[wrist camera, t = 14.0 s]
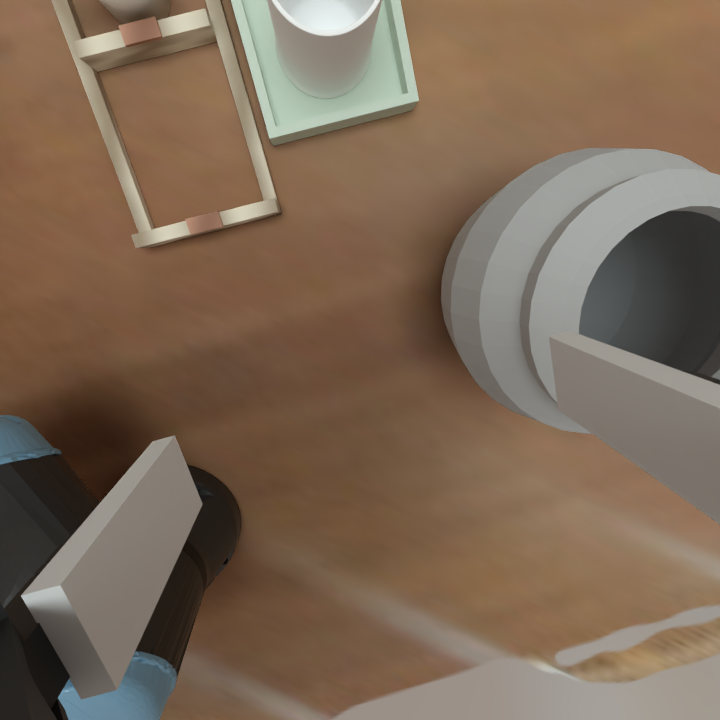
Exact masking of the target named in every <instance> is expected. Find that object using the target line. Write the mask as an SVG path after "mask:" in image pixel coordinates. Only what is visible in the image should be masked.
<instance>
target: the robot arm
mask: <svg viewBox="0 0 720 720" xmlns="http://www.w3.org/2000/svg"><path fill="white" fill-rule="evenodd" d="M549 342H550V350H551V358H552V365H553V373H554V381H555V389H556V397H557V404H558V410H560V411H561V412H563V413H564V414H565V415H567V416H568V417H570V418H571V419H572V420H574V421H575V422H577V423H578V424H579V425H581V426H582V427H584V428H585V429H586V430H588V431H589V432H591V433H592V434H593V435H595V436H596V437H598V438H599V439H600V440H602V441H603V442H605V443H606V444H607V445H609V446H610V447H612V448H613V449H615V450H616V451H617V452H619V453H620V454H622V455H623V456H624V457H626V458H627V459H629V460H630V461H631V462H633V463H634V464H636V465H637V466H638V467H640V468H641V469H643V470H644V471H645V472H647V473H648V474H650V475H651V476H652V477H654V478H655V479H657V480H658V481H659V482H661V483H662V484H664V485H665V486H667V487H668V488H669V489H671V490H672V491H674V492H675V493H676V494H678V495H679V496H681V497H682V498H683V499H685V500H686V501H688V502H689V503H690V504H692V505H693V506H695V507H696V508H697V509H699V510H700V511H702V512H703V513H704V514H706V515H707V516H709V517H710V518H711V519H713V520H714V521H716V522H717V523H718V524H720V380H719V379H716V378H713V377H710V376H707V375H704V374H701V373H696V372H689V371H683V370H677V369H674V368H672V367H669V366H666V365H663V364H661V363H658V362H655V361H652V360H649V359H647V358H644V357H641V356H638V355H636V354H633V353H630V352H627V351H624V350H622V349H619V348H616V347H613V346H611V345H608V344H605V343H602V342H599V341H597V340H594V339H591V338H588V337H585V336H583V335H580V334H577V333H574V332H572V331H569V332H565V333H561V334H557V335H553V336H550V337H549ZM61 454H62V452H61V451H60V450H59V449H57V448H53V447H52V446H51V445H50V444H49V442H48V441H47V440H46V439H45V438H44V437H43V436H42V435H41V434H40V433H39V432H38V431H37V430H36V429H35V427H34V426H33V425H32V424H31V423H30V422H28V421H27V420H25V419H23V418H21V417H18V416H14V415H0V720H160V717H161V715H162V712H163V710H164V707H165V705H166V702H167V700H168V697H169V696H170V694H171V693H172V691H173V690H174V688H175V684H176V681H177V680H176V679H177V676H178V673H179V670H180V666H181V663H182V660H183V657H184V654H185V651H186V648H187V644H188V641H189V638H190V635H191V632H192V629H193V626H194V622H195V619H196V616H197V613H198V610H199V607H200V604H201V600H202V597H203V594H204V592H205V590H206V589H207V588H208V586H209V585H210V584H211V583H212V582H213V580H214V579H215V577H216V576H217V575H218V574H219V573H220V572H221V571H222V570H223V569H224V567H225V566H226V565H227V564H228V562H229V561H230V559H231V557H232V555H233V553H234V551H235V548H236V545H237V541H238V538H239V534H240V528H241V518H240V512H239V508H238V505H237V503H236V501H235V499H234V497H233V496H232V494H231V493H230V491H229V490H228V489H227V488H226V487H225V486H224V485H223V484H222V483H221V482H220V481H219V480H218V479H216V478H215V477H213V476H212V475H210V474H208V473H207V472H204V471H202V470H200V469H197V468H194V467H191V466H187V464H186V462H185V459H184V457H183V454H182V452H181V449H180V447H179V444H178V442H177V440H176V437H175V436H171V437H167V438H163V439H159V440H156V441H153V442H152V443H151V444H150V445H149V446H148V447H147V449H146V450H145V451H144V452H143V453H142V454H141V456H140V457H139V458H138V459H137V460H136V461H135V463H134V464H133V465H132V466H131V467H130V468H129V470H128V471H127V472H126V473H125V474H124V475H123V477H122V478H121V479H120V480H119V481H118V483H117V484H116V485H115V486H114V487H113V488H112V490H111V491H110V492H109V493H108V494H107V495H106V497H105V498H104V499H103V500H102V501H101V502H99V501H98V500H97V499H96V498H95V496H94V495H93V494H92V493H91V491H90V490H89V489H88V488H87V486H86V485H85V484H84V483H83V482H82V480H81V479H80V478H79V477H78V475H77V474H76V473H75V472H74V471H73V469H72V468H71V467H70V466H69V464H68V463H67V462H66V461H65V460H64V458H63V457H62V456H61Z"/></svg>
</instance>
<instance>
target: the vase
mask: <svg viewBox="0 0 720 720" xmlns="http://www.w3.org/2000/svg"><path fill="white" fill-rule="evenodd" d="M441 304H442V310H443V317H444V321H445V324H446V327H447V330H448V332H449V335H450V338H451V340H452V342H453V344H454V346H455V348H456V350H457V351H458V353H459V355H460V357H461V359H462V361H463V363H464V364H465V366H466V368H467V369H468V371H469V372H470V374H471V375H472V377H473V379H474V380H475V382H476V383H477V384H478V385H479V386H480V387H481V388H482V389H483V390H484V391H485V392H486V393H487V394H488V395H489V396H490V397H491V398H492V399H493V400H495V401H497V402H498V403H500V404H501V405H503V406H504V407H506V408H508V409H509V410H511V411H513V412H515V413H518V414H521V415H523V416H526V417H529V418H531V419H534V420H536V421H539V422H542V423H544V424H547V425H550V426H552V427H555V428H558V429H560V430H565V431H571V432H578V433H584V434H591V432H589V431H588V430H586V429H585V428H584V427H582V426H581V425H579V424H578V423H577V422H575V421H574V420H572V419H571V418H570V417H568V416H567V415H565V414H564V413H563V412H561V411H560V410H558V404H557V397H556V389H555V381H554V373H553V365H552V358H551V350H550V342H549V337H550V336H553V335H557V334H561V333H565V332H569V331H572V332H574V333H577V334H580V335H583V336H585V337H588V338H591V339H594V340H597V341H599V342H602V343H605V344H608V345H611V346H613V347H616V348H619V349H622V350H624V351H627V352H630V353H633V354H636V355H638V356H641V357H644V358H647V359H649V360H652V361H655V362H658V363H661V364H663V365H666V366H669V367H672V368H674V369H677V370H683V371H689V372H696V373H701V374H704V375H707V376H710V377H713V378H716V379H719V380H720V175H718V174H714V173H710V172H708V171H707V170H706V169H705V168H703V167H701V166H699V165H697V164H696V163H694V162H692V161H690V160H688V159H686V158H684V157H682V156H679V155H675V154H671V153H667V152H663V151H659V150H655V149H625V148H587V149H582V150H577V151H572V152H568V153H563V154H560V155H557V156H555V157H553V158H551V159H548V160H546V161H544V162H541V163H539V164H537V165H535V166H533V167H531V168H530V169H529V170H527V171H526V172H524V173H523V174H521V175H520V176H519V177H517V178H516V179H514V180H513V181H511V182H510V183H509V184H507V185H506V186H505V187H503V188H502V189H501V190H500V191H498V192H497V193H496V194H494V195H493V196H492V197H491V198H489V199H488V200H487V201H485V202H484V203H483V204H482V205H481V206H480V207H479V208H478V209H477V210H476V211H475V212H474V213H473V214H472V215H471V216H470V217H469V218H468V220H467V221H466V223H465V224H464V226H463V227H462V229H461V230H460V232H459V233H458V235H457V236H456V238H455V240H454V242H453V245H452V247H451V249H450V252H449V254H448V256H447V259H446V263H445V267H444V272H443V276H442V286H441Z"/></svg>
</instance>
